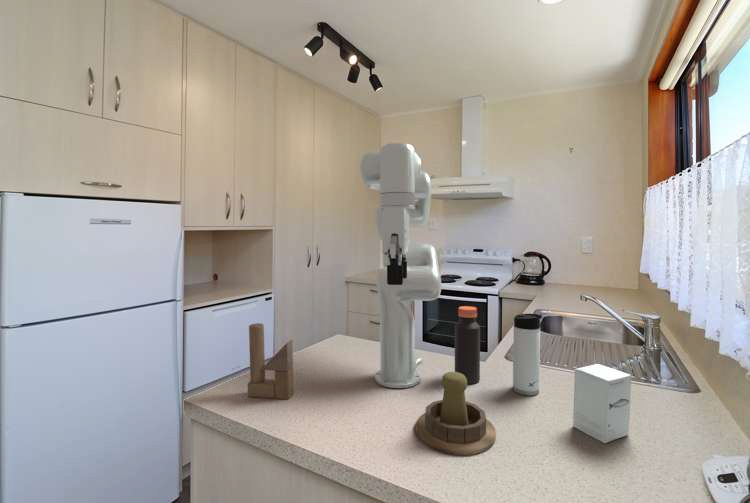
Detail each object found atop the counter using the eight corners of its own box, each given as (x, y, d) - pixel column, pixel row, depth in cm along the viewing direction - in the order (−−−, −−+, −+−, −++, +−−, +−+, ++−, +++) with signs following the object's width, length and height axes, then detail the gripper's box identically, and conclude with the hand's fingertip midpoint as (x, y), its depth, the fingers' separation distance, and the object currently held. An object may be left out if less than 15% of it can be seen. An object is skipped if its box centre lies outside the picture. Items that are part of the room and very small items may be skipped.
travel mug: (538, 398, 92) (540, 317, 90) (510, 392, 95) (511, 314, 94) (542, 388, 97) (543, 312, 96) (515, 383, 100) (516, 309, 99)
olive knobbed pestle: (471, 422, 79) (472, 371, 78) (465, 436, 73) (466, 382, 72) (443, 416, 81) (443, 366, 80) (435, 430, 76) (435, 376, 75)
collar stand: (440, 405, 88) (440, 389, 88) (507, 428, 78) (508, 409, 78) (400, 434, 76) (400, 415, 76) (474, 466, 66) (474, 444, 65)
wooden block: (288, 400, 92) (286, 327, 91) (247, 397, 93) (245, 326, 92) (293, 393, 95) (292, 324, 94) (254, 391, 97) (252, 322, 96)
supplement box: (605, 445, 72) (607, 380, 71) (571, 426, 79) (573, 367, 78) (630, 436, 75) (632, 374, 74) (595, 419, 82) (597, 362, 81)
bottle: (449, 379, 103) (450, 308, 102) (462, 372, 108) (462, 304, 107) (472, 386, 98) (472, 311, 97) (484, 379, 103) (485, 307, 102)
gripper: (385, 205, 90) (386, 276, 91) (373, 200, 73) (373, 287, 74) (417, 204, 89) (417, 276, 90) (411, 199, 72) (411, 288, 73)
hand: (397, 281), depth 82 cm, fingers open, 9 cm apart
